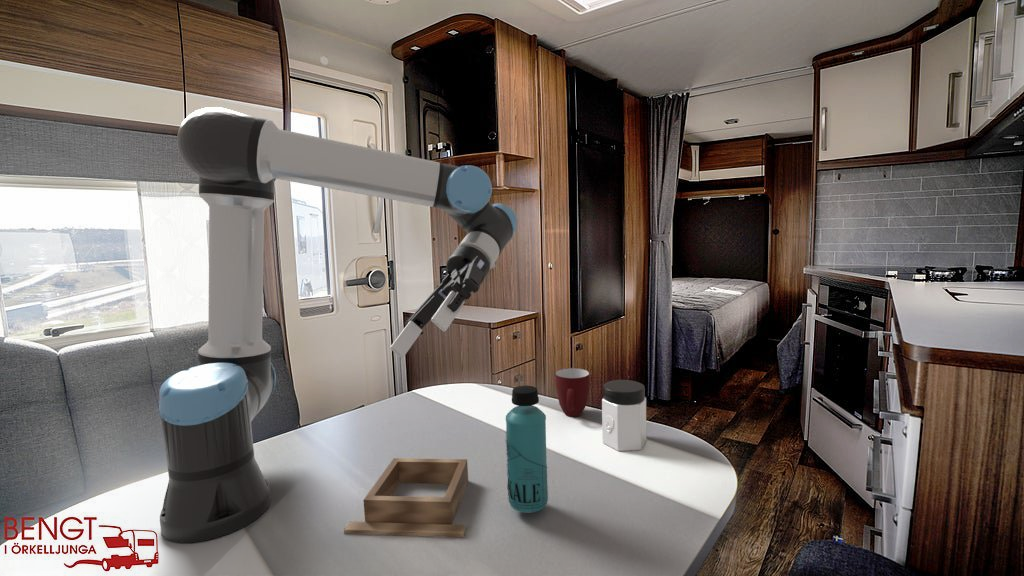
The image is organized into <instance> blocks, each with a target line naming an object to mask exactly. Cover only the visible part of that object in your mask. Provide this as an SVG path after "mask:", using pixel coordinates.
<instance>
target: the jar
mask: <svg viewBox="0 0 1024 576" xmlns="http://www.w3.org/2000/svg"><path fill="white" fill-rule="evenodd" d="M645 391H646V388H645V385H644V384H643V383H641V382H640V381H639V382H638V381H636V380H630V379H614V380H610V381H606V382H605V383H604V384H603V391H602V392H603V393H602V394H603V397H602V399H601V426H602V427H601V429H602V434H601V435H602V436H601V437H602V439H601V440H602V444H604V445H606V446H607V447H610V448H611V449H613V450H615V451H617V452H625V451H630V452H631V450H632V451H641V450H642V449H643V446H644V445H645V443H646V442H647V396H645V395H646V394H645V393H646V392H645Z"/></svg>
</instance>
